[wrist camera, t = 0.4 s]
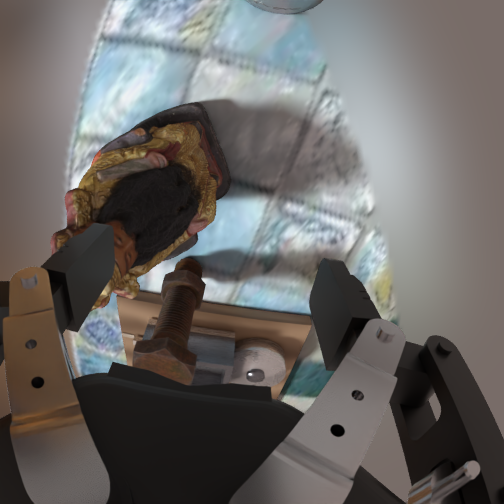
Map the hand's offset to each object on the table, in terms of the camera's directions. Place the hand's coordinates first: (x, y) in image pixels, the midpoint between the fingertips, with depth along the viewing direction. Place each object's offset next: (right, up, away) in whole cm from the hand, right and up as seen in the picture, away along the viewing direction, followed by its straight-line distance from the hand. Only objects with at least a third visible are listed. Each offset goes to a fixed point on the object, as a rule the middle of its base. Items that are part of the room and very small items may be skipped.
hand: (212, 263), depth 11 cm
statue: (-5, +11, +16) cm, 20 cm away
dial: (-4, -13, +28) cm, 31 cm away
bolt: (-6, -1, +24) cm, 24 cm away
